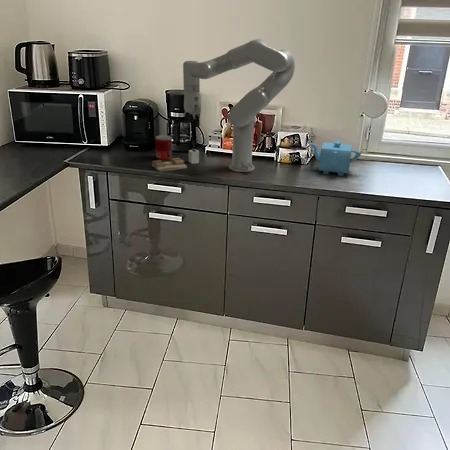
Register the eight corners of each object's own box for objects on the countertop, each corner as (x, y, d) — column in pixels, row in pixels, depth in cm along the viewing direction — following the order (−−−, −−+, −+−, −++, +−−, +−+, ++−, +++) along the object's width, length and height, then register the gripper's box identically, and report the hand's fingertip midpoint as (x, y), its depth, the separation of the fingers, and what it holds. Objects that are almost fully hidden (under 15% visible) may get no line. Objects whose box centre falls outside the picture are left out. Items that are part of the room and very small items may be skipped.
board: (187, 168, 234) (187, 163, 233) (160, 171, 228) (159, 166, 227) (178, 162, 242) (178, 157, 241) (152, 165, 236) (152, 160, 235)
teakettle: (360, 175, 234) (365, 145, 228) (331, 180, 225) (335, 149, 219) (334, 164, 248) (338, 135, 242) (305, 168, 240) (308, 139, 234)
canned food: (170, 160, 244) (170, 139, 239) (155, 160, 244) (154, 138, 239) (172, 156, 251) (172, 135, 246) (157, 155, 251) (156, 134, 246)
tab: (199, 162, 243) (199, 150, 240) (191, 163, 241) (191, 150, 238) (195, 160, 245) (195, 148, 243) (188, 161, 244) (188, 149, 241)
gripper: (206, 90, 223) (206, 127, 230) (191, 85, 237) (191, 120, 244) (191, 91, 220) (192, 129, 227) (177, 86, 234) (178, 122, 241)
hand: (192, 124), depth 236 cm, fingers open, 9 cm apart
